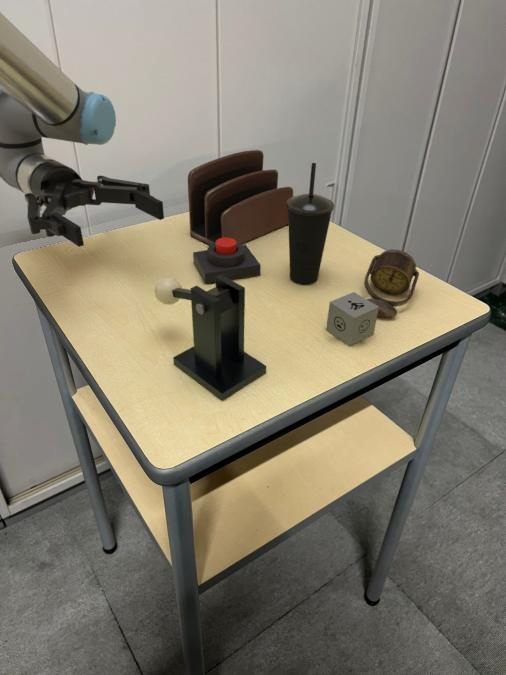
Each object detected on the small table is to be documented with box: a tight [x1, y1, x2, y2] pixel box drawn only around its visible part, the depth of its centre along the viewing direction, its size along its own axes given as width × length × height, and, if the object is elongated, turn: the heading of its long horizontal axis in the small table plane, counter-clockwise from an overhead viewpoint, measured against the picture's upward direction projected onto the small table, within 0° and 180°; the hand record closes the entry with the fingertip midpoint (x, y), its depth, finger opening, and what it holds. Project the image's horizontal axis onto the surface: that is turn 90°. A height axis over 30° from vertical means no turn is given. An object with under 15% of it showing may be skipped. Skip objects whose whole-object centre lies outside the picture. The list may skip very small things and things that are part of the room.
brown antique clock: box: [363, 249, 420, 318], centre depth 84 cm, size 7×13×10 cm
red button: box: [216, 238, 236, 255], centre depth 90 cm, size 4×4×2 cm
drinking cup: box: [286, 162, 335, 286], centre depth 85 cm, size 8×8×20 cm
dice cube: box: [325, 291, 379, 347], centre depth 76 cm, size 5×5×5 cm
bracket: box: [172, 275, 267, 401], centre depth 67 cm, size 10×8×13 cm
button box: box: [192, 242, 261, 285], centre depth 91 cm, size 10×8×4 cm
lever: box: [154, 276, 234, 313], centre depth 68 cm, size 14×4×4 cm, turn 44°
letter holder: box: [187, 149, 294, 246], centre depth 102 cm, size 10×20×14 cm, turn 135°
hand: (122, 223), depth 74 cm, fingers open, 13 cm apart
